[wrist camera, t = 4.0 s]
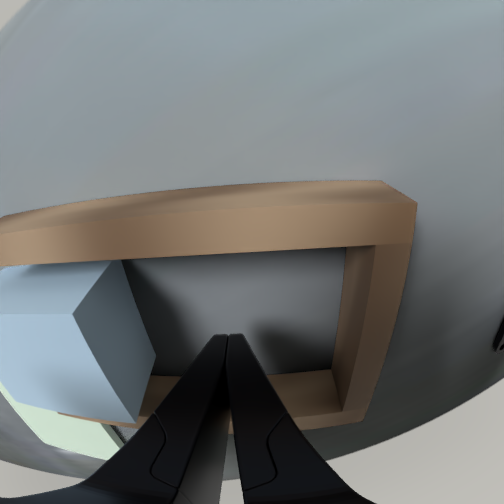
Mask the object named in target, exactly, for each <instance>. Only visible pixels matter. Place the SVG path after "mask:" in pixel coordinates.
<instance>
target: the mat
mask: <svg viewBox="0 0 504 504" xmlns="http://www.w3.org/2000/svg"><path fill="white" fill-rule="evenodd" d="M0 391H1V393H2V394H3V395H4V397H5V398H6V399H7V401H8V402H9V403H10V404H11V406H12V407H13V408H14V409H15V411H16V412H17V413H18V414H19V415H20V417H21V418H22V419H23V420H24V421H25V422H26V424H27V425H28V426H29V427H30V428H31V429H32V430H33V431H34V433H35V434H36V435H37V436H38V437H39V438H40V439H41V440H42V441H43V442H44V443H46V444H49V445H53V446H56V447H59V448H62V449H65V450H69V451H72V452H76V453H79V454H83V455H87V456H91V457H95V458H100V459H104V460H109V459H110V458H111V457H112V456H113V455H114V454H115V453H116V452H117V451H118V450H119V449H120V448H121V447H122V446H123V445H124V443H123V442H122V441H121V439H120V438H119V437H118V435H117V434H116V433H115V431H114V430H113V429H112V427H111V426H110V425H109V424H103V423H98V422H93V421H88V420H83V419H78V418H74V417H69V416H65V415H61V414H58V413H57V412H56V411H51V410H47V409H42V408H38V407H34V406H30V405H26V404H23V403H19V402H16V401H15V400H14V399H13V397H12V396H11V395H10V393H9V392H8V391H7V390H6V388H5V387H4V386H3V384H2V383H1V382H0Z"/></svg>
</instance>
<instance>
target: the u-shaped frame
mask: <svg viewBox="0 0 504 504" xmlns="http://www.w3.org/2000/svg"><path fill="white" fill-rule="evenodd" d="M416 212H417V202H415V201H414V200H412V199H410V198H409V197H407V196H406V195H404V194H402V193H401V192H399V191H398V190H396V189H394V188H393V187H391V186H389V185H388V184H386V183H384V182H382V181H302V182H276V183H256V184H239V185H225V186H212V187H200V188H189V189H178V190H168V191H159V192H150V193H141V194H133V195H125V196H118V197H110V198H103V199H96V200H90V201H83V202H77V203H71V204H65V205H59V206H53V207H48V208H42V209H37V210H31V211H26V212H21V213H16V214H12V215H7V216H3V217H2V218H0V266H13V265H31V264H48V263H66V262H83V261H101V260H119V259H136V258H154V257H171V256H189V255H206V254H224V253H241V252H259V251H276V250H294V249H312V248H329V247H346V256H345V267H344V278H343V287H342V296H341V305H340V313H339V321H338V328H337V335H336V342H335V348H334V355H333V361H332V367H331V369H329V370H320V371H311V372H301V373H289V374H275V375H267V377H268V379H269V380H270V382H271V384H272V385H273V387H274V389H275V390H276V392H277V394H278V396H279V397H280V399H281V401H282V402H283V404H284V406H285V407H286V409H287V411H288V413H289V414H290V415H291V417H292V418H293V420H294V422H295V423H296V425H297V426H298V428H299V429H300V430H308V429H317V428H324V427H332V426H338V425H344V424H350V423H356V422H361V421H363V419H364V417H365V414H366V412H367V409H368V407H369V404H370V401H371V399H372V396H373V393H374V390H375V388H376V385H377V382H378V379H379V376H380V373H381V370H382V367H383V364H384V360H385V357H386V354H387V351H388V347H389V344H390V340H391V337H392V333H393V330H394V326H395V322H396V318H397V314H398V310H399V306H400V302H401V298H402V293H403V289H404V284H405V279H406V274H407V269H408V264H409V258H410V253H411V247H412V240H413V234H414V227H415V220H416ZM180 378H181V377H179V376H153V375H150V377H149V381H148V384H147V387H146V391H145V394H144V397H143V401H142V404H141V408H140V411H139V415H138V418H137V422H136V424H135V423H125V422H116V421H108V420H101V419H94V418H88V417H82V416H76V415H71V414H65V413H60V412H57V413H58V414H61V415H65V416H69V417H74V418H78V419H83V420H88V421H93V422H98V423H103V424H109V425H115V426H122V427H129V428H136V429H139V428H140V427H141V426H142V425H143V424H144V423H145V421H146V420H147V419H148V418H149V416H150V415H151V414H152V413H154V410H155V409H156V408H157V407H158V405H159V404H160V403H161V402H162V400H163V399H164V398H165V397H166V395H167V394H168V393H169V392H170V390H171V389H172V388H173V387H174V385H175V384H176V383H177V381H178V380H179V379H180ZM228 434H234V433H233V425H232V418H231V417H230V424H229V432H228Z"/></svg>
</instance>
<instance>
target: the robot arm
mask: <svg viewBox="0 0 504 504" xmlns="http://www.w3.org/2000/svg"><path fill="white" fill-rule="evenodd" d="M493 349H494V351H495V352H496V353H497V354H500V353H502V352H504V322H503V324H502V327H501V329H500V331H499V333H498V335H497V338H496V340H495V342H494V344H493ZM230 417H231V418H232V425H233V433H234V440H235V447H236V454H237V461H238V467H239V474H240V480H241V487H242V492H243V499H244V504H376V503H374V502H372V501H370V500H368V499H366V498H364V497H362V496H361V495H359V494H358V493H357V492H355V491H354V490H353V489H352V488H350V487H349V486H348V485H347V484H346V483H345V482H344V481H343V480H342V479H341V478H340V477H339V475H338V474H337V473H336V472H335V471H334V470H333V469H332V468H331V467H330V466H329V465H328V464H327V462H326V461H325V460H324V459H323V458H322V457H321V456H320V455H319V454H318V452H317V451H316V450H315V449H314V448H313V446H312V445H311V444H310V443H309V442H308V440H307V439H306V438H305V437H304V435H303V434H302V432H301V431H300V429H299V428H298V426H297V425H296V423H295V422H294V420H293V418H292V417H291V415H290V414H289V413H288V411H287V409H286V407H285V406H284V404H283V402H282V401H281V399H280V397H279V396H278V394H277V392H276V390H275V389H274V387H273V385H272V384H271V382H270V380H269V379H268V377H267V375H266V373H265V372H264V370H263V368H262V366H261V365H260V363H259V361H258V360H257V358H256V356H255V354H254V353H253V351H252V349H251V347H250V345H249V344H248V342H247V340H246V338H245V337H244V335H243V334H230V335H229V336H228V335H227V334H216V335H214V336H213V337H212V338H211V339H210V340H209V342H208V343H207V344H206V346H205V347H204V348H203V349H202V351H201V352H200V353H199V355H198V356H197V357H196V358H195V360H194V361H193V362H192V364H191V365H190V366H189V367H188V369H187V370H186V371H185V373H184V374H183V375H182V376H181V378H180V379H179V380H178V381H177V383H176V384H175V385H174V387H173V388H172V389H171V390H170V392H169V393H168V394H167V395H166V397H165V398H164V399H163V400H162V402H161V403H160V404H159V405H158V407H157V408H156V409H155V410H154V413H152V414H151V415H150V416H149V418H148V419H147V420H146V421H145V423H144V424H143V425H142V426H141V427H140V428H139V430H138V431H137V432H136V433H135V434H134V435H133V436H132V437H131V438H130V439H129V440H128V441H127V442H126V443H125V444H124V445H123V446H122V447H121V448H120V449H119V450H118V451H117V452H116V453H115V454H114V455H113V456H112V457H111V458H110V459H109V460H107V461H106V462H105V463H104V464H103V465H102V466H101V467H100V468H99V469H98V470H97V471H95V472H94V473H93V474H92V475H91V476H90V477H88V478H87V479H85V480H84V481H82V482H80V483H78V484H76V485H73V486H70V487H66V488H62V489H58V490H53V491H49V492H44V493H40V494H34V495H28V496H23V497H16V498H1V497H0V504H219V501H220V493H221V485H222V478H223V470H224V463H225V455H226V447H227V440H228V432H229V424H230Z"/></svg>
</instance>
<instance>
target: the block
mask: <svg viewBox="0 0 504 504" xmlns="http://www.w3.org/2000/svg"><path fill="white" fill-rule="evenodd" d="M155 358H156V354H155V351H154V349H153V347H152V344H151V342H150V339H149V337H148V334H147V332H146V329H145V327H144V324H143V322H142V319H141V316H140V314H139V311H138V308H137V306H136V303H135V300H134V297H133V295H132V292H131V289H130V286H129V283H128V280H127V277H126V274H125V271H124V268H123V265H122V262H121V259H119V260H101V261H83V262H66V263H48V264H31V265H23V266H16V267H9V268H4V269H3V270H2V271H1V272H0V382H1V383H2V384H3V386H4V387H5V388H6V390H7V391H8V392H9V393H10V395H11V396H12V397H13V399H14V400H15V401H16V402H19V403H23V404H26V405H30V406H34V407H38V408H42V409H47V410H51V411H56V412H60V413H65V414H71V415H76V416H82V417H88V418H94V419H101V420H108V421H116V422H125V423H135V424H136V422H137V418H138V415H139V411H140V408H141V404H142V401H143V397H144V394H145V391H146V387H147V384H148V381H149V377H150V374H151V371H152V368H153V364H154V361H155Z"/></svg>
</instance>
